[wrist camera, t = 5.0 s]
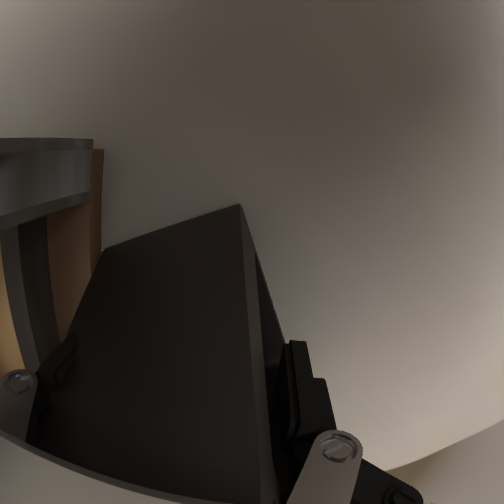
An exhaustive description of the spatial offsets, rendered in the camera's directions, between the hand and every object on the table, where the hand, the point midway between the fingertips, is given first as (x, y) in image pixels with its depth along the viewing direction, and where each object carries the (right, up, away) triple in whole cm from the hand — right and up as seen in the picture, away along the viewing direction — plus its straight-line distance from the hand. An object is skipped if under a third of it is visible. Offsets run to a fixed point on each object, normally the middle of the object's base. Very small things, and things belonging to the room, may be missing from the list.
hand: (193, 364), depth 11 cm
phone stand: (0, +1, +3) cm, 3 cm away
